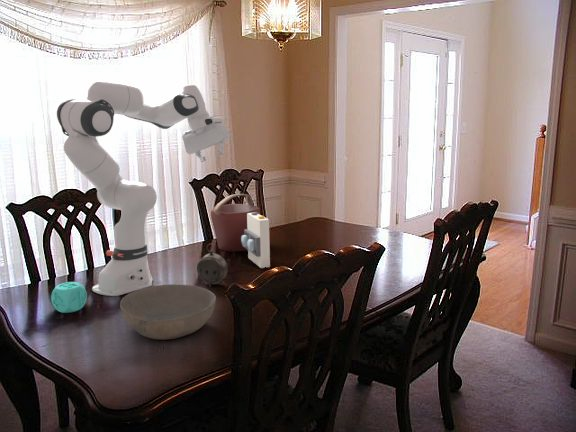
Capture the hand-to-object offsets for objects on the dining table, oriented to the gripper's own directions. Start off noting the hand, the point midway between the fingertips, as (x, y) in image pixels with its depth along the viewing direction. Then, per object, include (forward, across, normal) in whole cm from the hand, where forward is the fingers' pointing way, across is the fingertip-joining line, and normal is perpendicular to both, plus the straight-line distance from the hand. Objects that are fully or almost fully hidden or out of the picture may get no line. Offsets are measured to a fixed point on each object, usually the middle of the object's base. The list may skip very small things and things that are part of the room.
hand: (212, 157), depth 211 cm
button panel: (+47, -2, +8) cm, 48 cm away
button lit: (+41, +1, +2) cm, 41 cm away
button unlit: (+39, -5, +8) cm, 40 cm away
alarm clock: (+46, -4, -24) cm, 52 cm away
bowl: (+48, +4, -62) cm, 79 cm away
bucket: (+41, -21, +27) cm, 53 cm away
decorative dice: (+34, -35, -61) cm, 78 cm away
